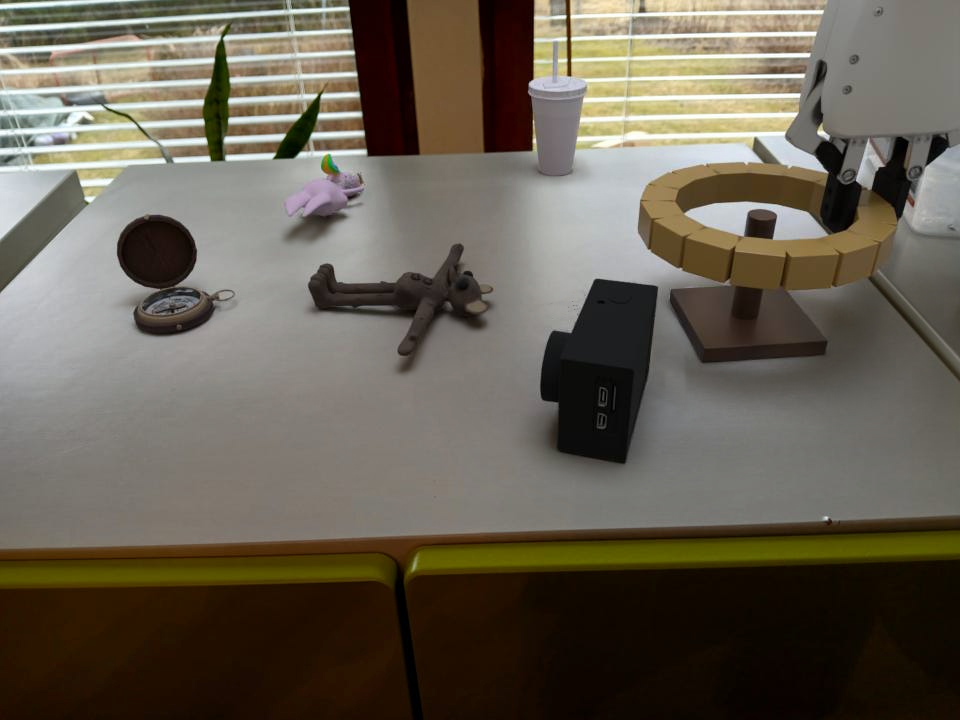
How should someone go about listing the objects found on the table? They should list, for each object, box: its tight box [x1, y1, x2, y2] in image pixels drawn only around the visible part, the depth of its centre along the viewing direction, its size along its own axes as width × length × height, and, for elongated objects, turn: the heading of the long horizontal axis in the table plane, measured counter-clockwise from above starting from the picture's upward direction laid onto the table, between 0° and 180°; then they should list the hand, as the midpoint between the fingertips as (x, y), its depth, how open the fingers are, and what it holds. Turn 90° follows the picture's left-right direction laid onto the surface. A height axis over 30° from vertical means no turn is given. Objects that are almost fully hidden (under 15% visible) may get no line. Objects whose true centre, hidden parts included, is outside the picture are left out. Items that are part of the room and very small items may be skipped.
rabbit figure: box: [284, 153, 366, 218], centre depth 80 cm, size 6×6×15 cm
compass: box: [116, 213, 236, 334], centre depth 64 cm, size 8×8×7 cm
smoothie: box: [527, 40, 588, 177], centre depth 87 cm, size 6×6×14 cm
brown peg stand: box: [668, 208, 829, 363], centre depth 58 cm, size 9×9×9 cm
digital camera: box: [539, 278, 659, 464], centre depth 51 cm, size 10×5×7 cm, turn 162°
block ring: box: [637, 161, 899, 292], centre depth 56 cm, size 17×17×2 cm
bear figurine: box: [307, 242, 494, 357], centre depth 64 cm, size 18×4×14 cm
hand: (857, 227), depth 57 cm, fingers closed on block ring, 2 cm apart
